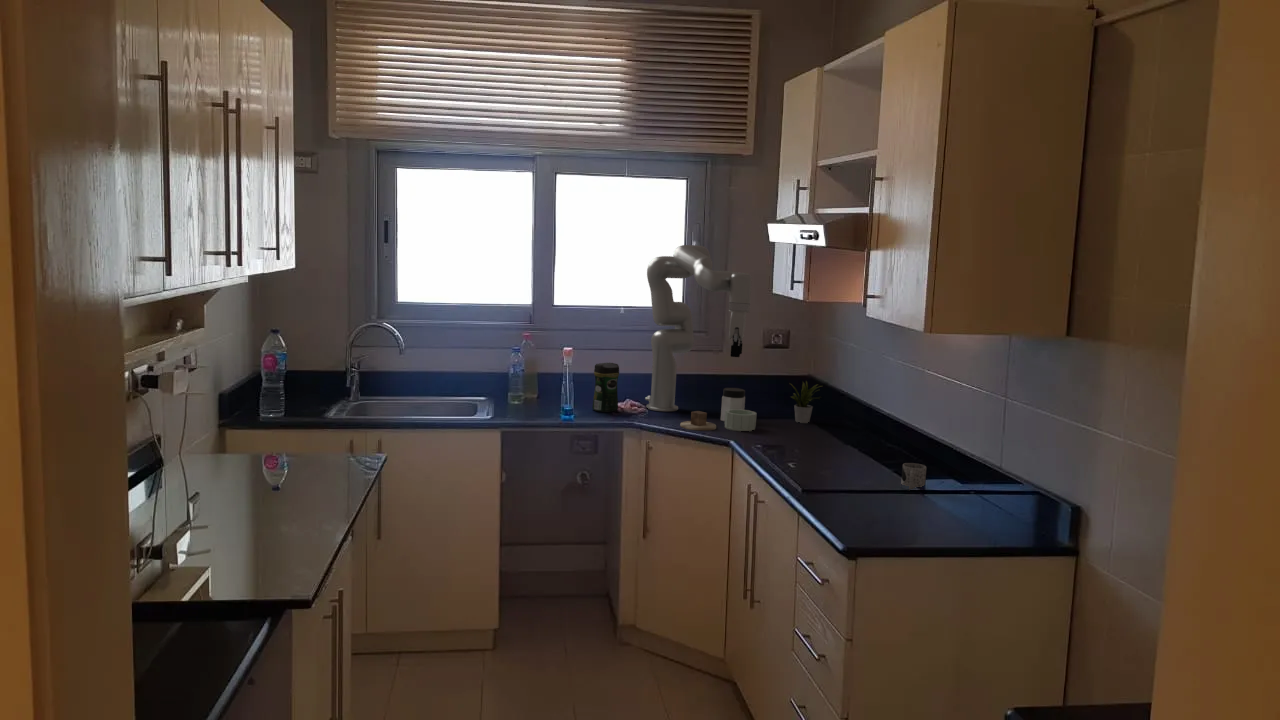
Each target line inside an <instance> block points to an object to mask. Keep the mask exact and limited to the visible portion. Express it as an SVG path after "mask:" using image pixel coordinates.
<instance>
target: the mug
mask: <svg viewBox="0 0 1280 720" xmlns="http://www.w3.org/2000/svg"><path fill="white" fill-rule="evenodd" d="M901 468H902V469H901V479H900V481H901V482H900V485H901V484H902V485H905V486H909V489H913V488H915V487H922V486H924V485H925V486H926V478H927V477H926V476H927V466H926V465H925V464H921V463H916V462H915V463H914V462H905V463H903V464H902V467H901Z"/></svg>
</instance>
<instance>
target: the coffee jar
mask: <svg viewBox="0 0 1280 720" xmlns="http://www.w3.org/2000/svg"><path fill="white" fill-rule="evenodd" d="M593 374H594V390H593V391H594V394H593V397H592V410H593V411H595V412H601V413H609V412H615V411H618V410H619V399H618V398H619V397H618V382H619V381H618V379H619V376H620V365H619V364H618V363H616V362H615V363H614V362H602V363H601V362H600V363H595V365H594V370H593Z"/></svg>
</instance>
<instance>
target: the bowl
mask: <svg viewBox="0 0 1280 720" xmlns="http://www.w3.org/2000/svg"><path fill="white" fill-rule="evenodd" d="M756 426H757V412H756V411H752V410H749V409H744V410H741V409H731V410H726V411H725V421H724V428H725V429H726V430H728V431H729V430H730V431H734V432H741V431H749V432H753V431H752V430H754V431H755V430H756Z"/></svg>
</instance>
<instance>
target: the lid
mask: <svg viewBox="0 0 1280 720" xmlns="http://www.w3.org/2000/svg"><path fill="white" fill-rule="evenodd" d="M707 416H708V413H707V412H704V411H700V410H695V411H691V412H690V420H686V421H682V422H680V425H679V426H680V427H681V428H683V429H685V430H689V431H700V432H702V431H704V432H705V431H706V432H709V431H714V430H717V425H716V424H715V423H713V422H708V420H707V419H708V418H707Z"/></svg>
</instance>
